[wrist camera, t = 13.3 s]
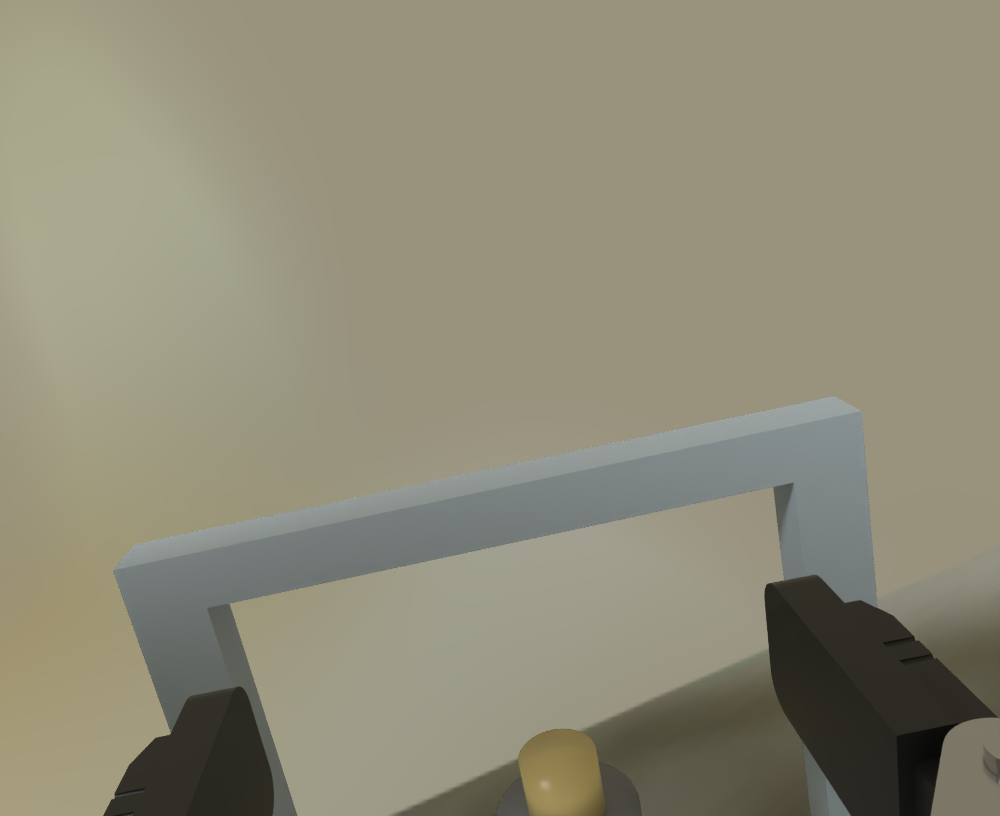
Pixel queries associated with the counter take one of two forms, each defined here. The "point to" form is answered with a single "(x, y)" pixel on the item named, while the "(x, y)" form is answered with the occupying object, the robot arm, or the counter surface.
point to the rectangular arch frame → (504, 538)
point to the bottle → (567, 780)
